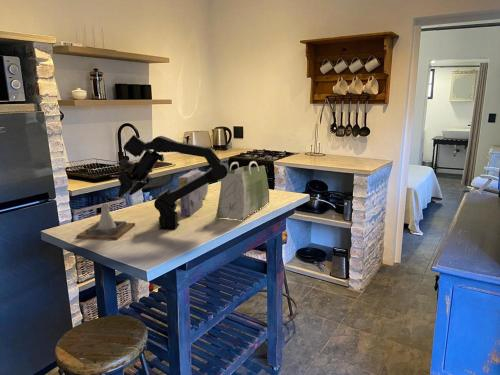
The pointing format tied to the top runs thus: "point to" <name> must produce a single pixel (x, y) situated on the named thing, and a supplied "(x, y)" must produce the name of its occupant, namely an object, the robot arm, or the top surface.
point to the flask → (106, 219)
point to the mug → (204, 188)
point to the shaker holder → (106, 231)
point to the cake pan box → (190, 195)
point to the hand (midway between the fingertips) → (124, 195)
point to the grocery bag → (243, 192)
